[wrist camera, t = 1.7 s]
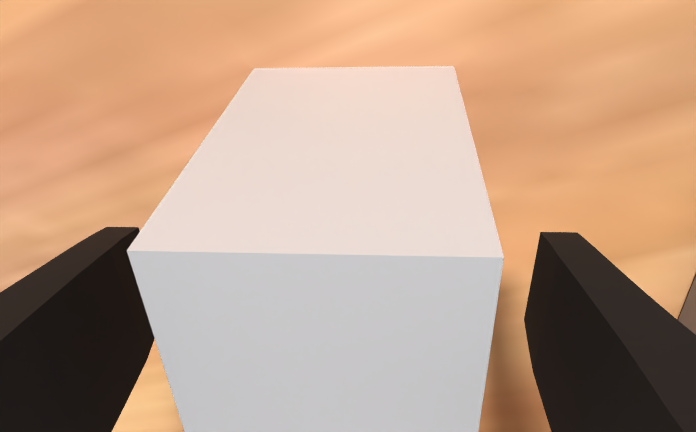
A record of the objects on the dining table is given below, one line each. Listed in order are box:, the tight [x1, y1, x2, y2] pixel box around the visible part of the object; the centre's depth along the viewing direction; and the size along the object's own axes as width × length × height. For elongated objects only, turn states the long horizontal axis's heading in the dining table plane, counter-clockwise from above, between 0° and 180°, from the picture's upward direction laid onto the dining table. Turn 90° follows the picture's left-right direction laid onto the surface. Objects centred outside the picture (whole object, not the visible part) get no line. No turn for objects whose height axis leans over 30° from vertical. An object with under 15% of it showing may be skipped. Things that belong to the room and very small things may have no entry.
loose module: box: [127, 66, 504, 432], centre depth 11 cm, size 5×4×7 cm
